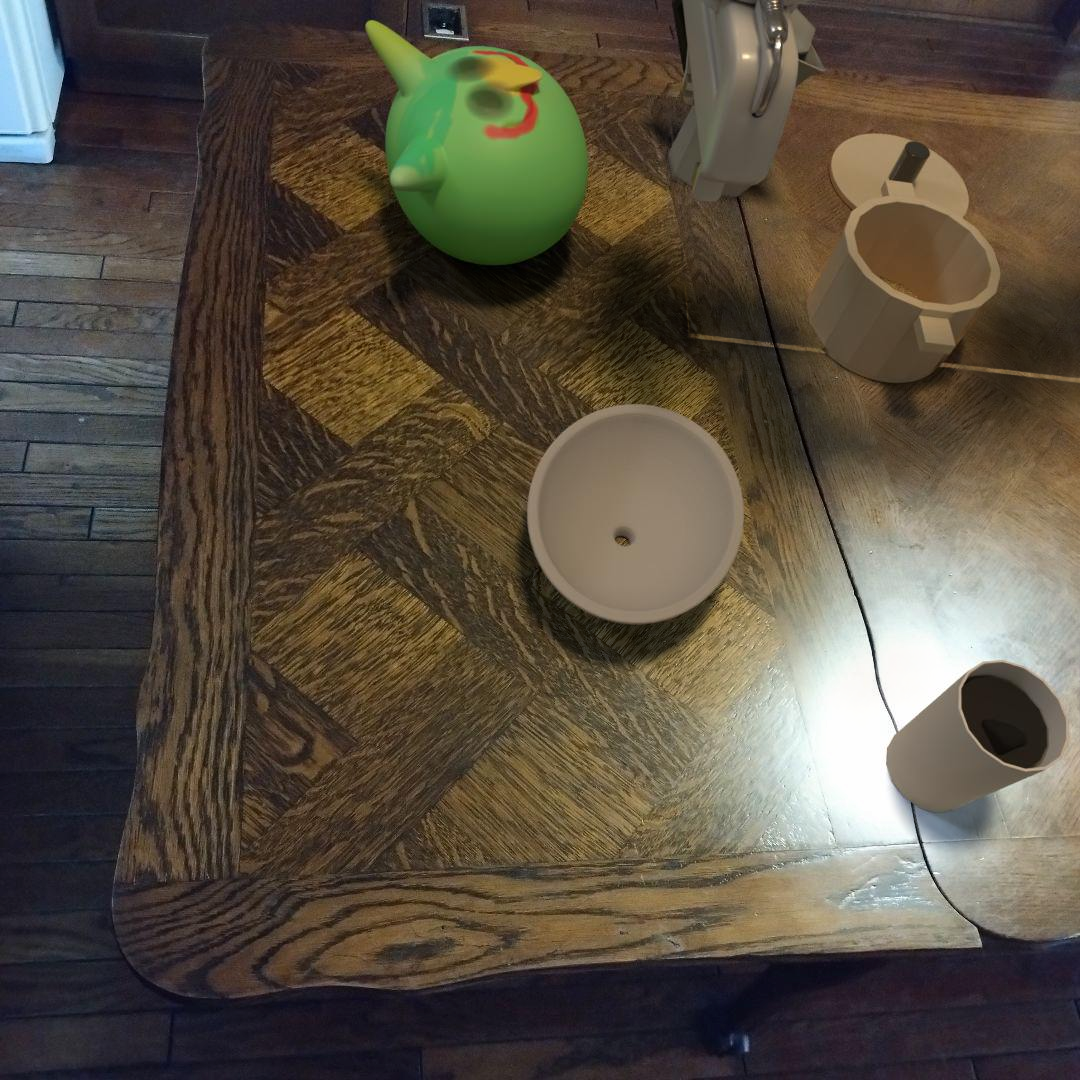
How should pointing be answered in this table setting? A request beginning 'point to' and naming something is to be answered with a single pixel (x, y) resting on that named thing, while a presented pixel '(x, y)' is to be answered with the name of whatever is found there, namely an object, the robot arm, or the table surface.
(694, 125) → the coffee maker
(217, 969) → the table surface
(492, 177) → the toy bird
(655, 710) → the table surface
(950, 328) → the pot
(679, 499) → the dish
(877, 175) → the lid
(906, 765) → the grey cup
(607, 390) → the table surface
